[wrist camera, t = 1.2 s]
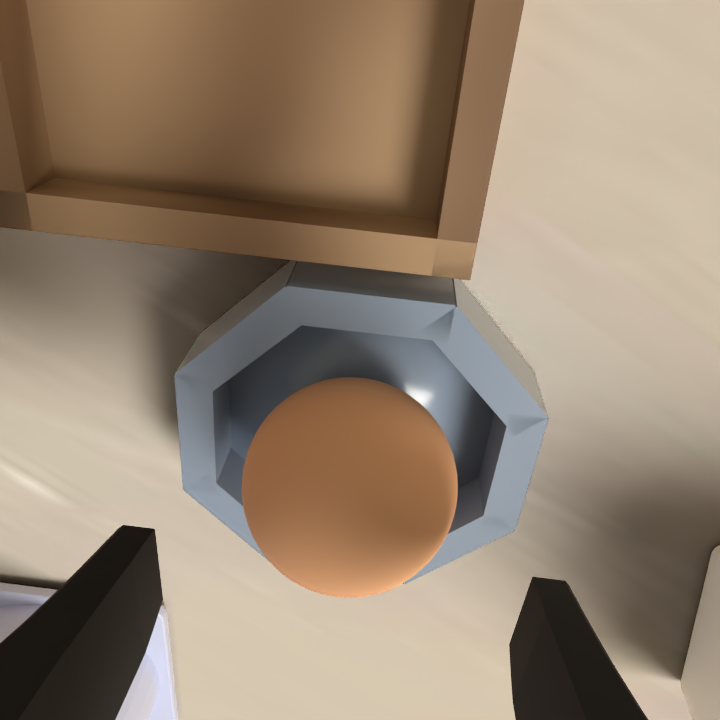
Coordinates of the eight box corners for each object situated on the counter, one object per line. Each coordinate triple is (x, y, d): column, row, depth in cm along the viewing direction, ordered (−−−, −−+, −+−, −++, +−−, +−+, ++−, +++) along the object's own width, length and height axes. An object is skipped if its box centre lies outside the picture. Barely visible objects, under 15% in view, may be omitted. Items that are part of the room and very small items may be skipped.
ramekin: (208, 507, 20) (187, 556, 18) (195, 240, 15) (166, 272, 13) (488, 541, 19) (495, 595, 18) (560, 281, 15) (578, 319, 13)
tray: (43, 199, 15) (-6, 226, 13) (-36, -261, 11) (-123, -309, 9) (463, 246, 15) (470, 280, 13) (546, -205, 10) (571, -244, 9)
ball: (265, 479, 18) (218, 631, 14) (267, 328, 16) (210, 456, 11) (436, 500, 18) (443, 659, 14) (467, 351, 15) (486, 489, 11)
